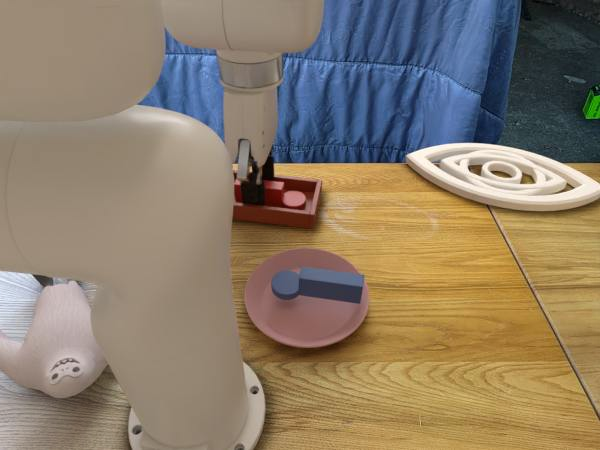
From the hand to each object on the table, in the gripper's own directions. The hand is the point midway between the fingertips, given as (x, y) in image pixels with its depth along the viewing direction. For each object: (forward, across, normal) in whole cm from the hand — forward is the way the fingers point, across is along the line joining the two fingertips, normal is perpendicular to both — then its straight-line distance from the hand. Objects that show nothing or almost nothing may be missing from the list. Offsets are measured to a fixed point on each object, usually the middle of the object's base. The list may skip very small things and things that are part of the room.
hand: (258, 189), depth 64 cm
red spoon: (+2, 0, +2) cm, 3 cm away
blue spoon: (+1, +16, +11) cm, 20 cm away
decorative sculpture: (0, -14, +21) cm, 25 cm away
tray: (+3, 0, +2) cm, 3 cm away
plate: (+3, +17, +10) cm, 19 cm away
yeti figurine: (0, +18, -21) cm, 28 cm away
